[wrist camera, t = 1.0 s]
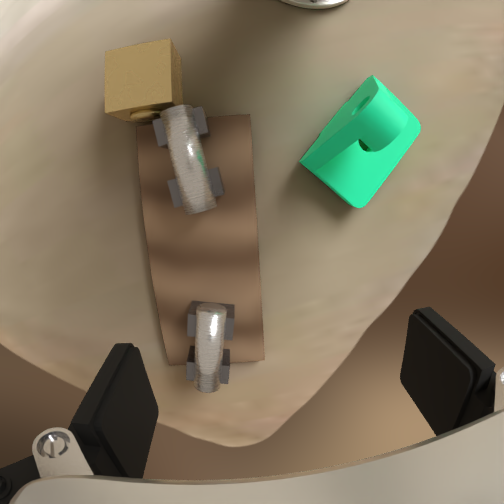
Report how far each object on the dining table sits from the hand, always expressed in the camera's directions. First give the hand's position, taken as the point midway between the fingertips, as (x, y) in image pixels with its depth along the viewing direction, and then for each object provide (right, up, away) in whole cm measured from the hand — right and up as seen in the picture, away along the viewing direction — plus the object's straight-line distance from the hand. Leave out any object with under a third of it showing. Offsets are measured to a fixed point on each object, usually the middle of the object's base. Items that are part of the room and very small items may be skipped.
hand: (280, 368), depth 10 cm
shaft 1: (-6, +12, +19) cm, 24 cm away
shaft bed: (-6, +4, +23) cm, 24 cm away
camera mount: (+10, +15, +21) cm, 28 cm away
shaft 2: (-5, -5, +24) cm, 25 cm away
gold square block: (-11, +20, +18) cm, 29 cm away
